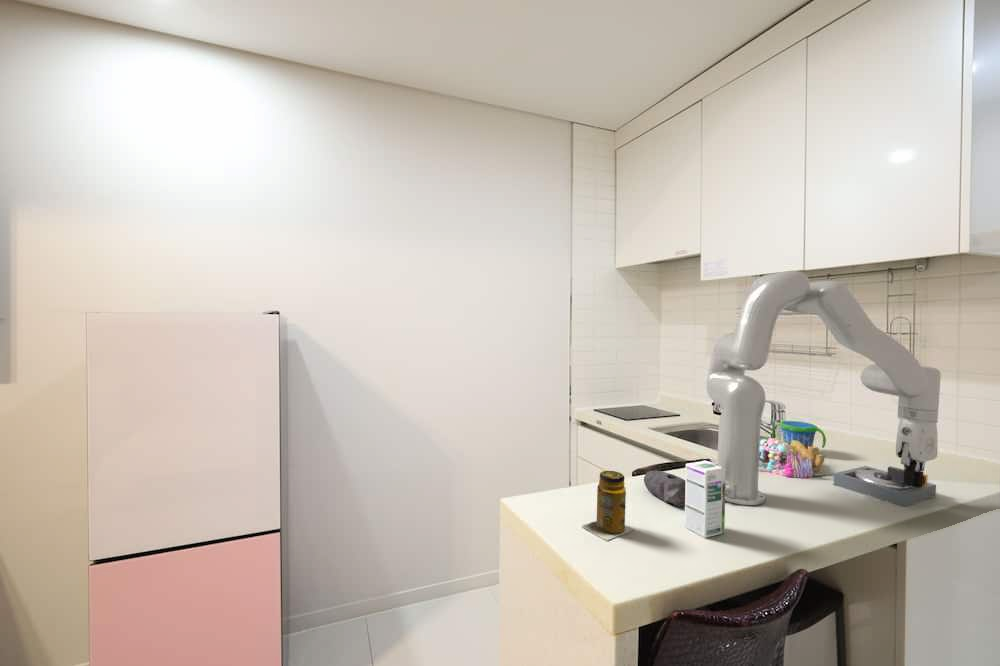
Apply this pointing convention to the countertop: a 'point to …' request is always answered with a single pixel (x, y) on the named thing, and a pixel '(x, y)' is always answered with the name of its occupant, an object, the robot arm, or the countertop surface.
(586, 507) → the countertop surface
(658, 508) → the countertop surface
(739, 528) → the countertop surface
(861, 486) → the housing
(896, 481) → the dial
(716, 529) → the syrup box
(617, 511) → the condiment
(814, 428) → the snack cup
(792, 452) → the pastel sphere sculpture
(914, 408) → the robot arm
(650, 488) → the perforated stone tool
